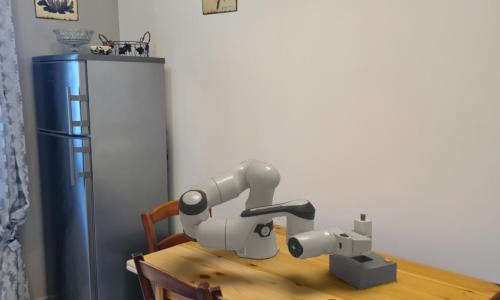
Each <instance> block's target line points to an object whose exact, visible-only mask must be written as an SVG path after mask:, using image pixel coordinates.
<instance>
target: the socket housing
mask: <svg viewBox="0 0 500 300" xmlns="http://www.w3.org/2000/svg"><path fill="white" fill-rule="evenodd" d="M328 259H329V260H328V272H329V273H331V274H332V275H335V276H336V277H338V278H339V279H341V280H343V281H345V282H346V283H348V284H349V285H351V286H353V287H355V288H356V289H357V290H365V289H369V288H373V287H376V286H380V285H385V284H389V283H392V282H397V278H398V277H397V275H398V274H397V273H398V270H397V269H398V268H397V267H398V263H397V261H396V262H395V261H393V260H391V259H389V258H386V257H385V256H382V255H379V254H378V253H376V252H373V251H372V253H371V254H366V255H360V254H357V253H352V255H351V256H344V255H340V254H329V256H328Z"/></svg>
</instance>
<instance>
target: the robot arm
mask: <svg viewBox="0 0 500 300" xmlns="http://www.w3.org/2000/svg"><path fill="white" fill-rule="evenodd" d="M280 182H281V174H280V171H279V170H278V168H276V167H275V166H274V165H272V164H270V163H268V162H265V161H262V160H257V159H255V158H252V159H251V158H250V159H249V158H248V159H244V160H242V161H241V162H240V163H239V164H237V166H234V167H233V168H231V169H229V170H227V171H225V172H222V173H221V174H217V175H215V176H212V177H210V178H207V179H205V180H203V181H201V182H199V183H197V184H195V185H194V186H192V187H191V188H190V189H188V190H187V191H185V192H184V193H182V194H181V195H180V197H179V199H178V212H179V221H180V223H181V227H182V232H183V235H184V237H185V238H186V239H187V240H188V241H190V242H194V243H197V244H198V245H199V246H200V247H202V248H207V249H212V250H217V251H218V250H219V251H220V250H221V251H234V252H235V253H236V254H237V257H239V258H249V259H254V260H261V259H268V258H272V257H275V256H276V255H277V253H278V252H279V251H280V247H279V246H278V241H277V233H276V232H277V231H276V230H274V226H275V225H274V224H275V223H274V219H275V218H280V217H286V230H285V243H286V246H287V249H288V252H289V254H290V255H291V256H292V257H293V258H295V259H299V260H301V259H312V258H317V257H321V256H322V255H325V256H328V255H331V254H340V255H344V256H351V255H352V253H361V252H365V251H369V250H370V249H371V248H373V239H372V240H371V237H372V238H373V235H372V236H371V235H370V234H365V236H363V235H361V234H358V233H356V232H354V229H348V228H346V227H343V226H341V225H337V224H335V225H330V226H326V227H324V228H322V229H319V230H314V228H315V227H314V225H315V216H316V215H315V214H316V208H315V206H314V205H313V204H312V203H311V201H309V200H306V199H301V198H300V199H294V200H290V201H287V202H282V203H274V204H273V201H274V200H273V199H274V195H275V191H276V188H277V187H278V186H279V185H280ZM248 189H249V193H248V196H247V199H246V200H245V203H244V205H245V206H244V207H245V210H243V211H242V212H241V213H240V215H237V216H235V217H232V218H213V217H211V213H210V209H211V208H213V207H217V206H220V205H221V204H225V203H227V202H230V201H232V200H235V199H237V198H238V197H240V196H241V194H242V193H243V192H245V191H247V190H248Z"/></svg>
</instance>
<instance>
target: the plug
mask: <svg viewBox="0 0 500 300" xmlns="http://www.w3.org/2000/svg"><path fill="white" fill-rule="evenodd" d="M353 230H354V232H356V233H358V234H361V235H363V236H365V234H370V235H371V236H372V237H371V240H372V241H373V239H372V238H373V220H370V219H369V218H367V216H366V214H365V213H362V214H361V213H360V217H359V218H355V219H353ZM372 248H373V247H372ZM372 248H371V249H370V250H369V251H365V252H361V253H357V254H360V255H366V254H371V253H372V252H373V250H372Z"/></svg>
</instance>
